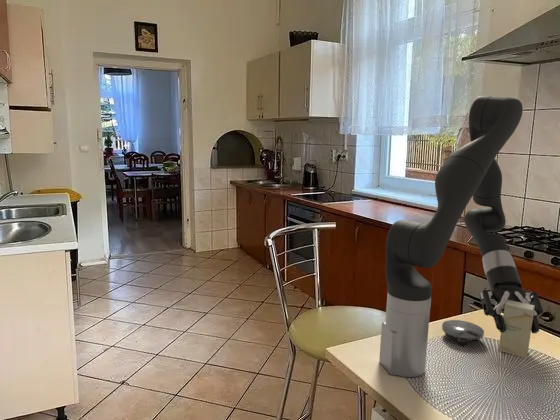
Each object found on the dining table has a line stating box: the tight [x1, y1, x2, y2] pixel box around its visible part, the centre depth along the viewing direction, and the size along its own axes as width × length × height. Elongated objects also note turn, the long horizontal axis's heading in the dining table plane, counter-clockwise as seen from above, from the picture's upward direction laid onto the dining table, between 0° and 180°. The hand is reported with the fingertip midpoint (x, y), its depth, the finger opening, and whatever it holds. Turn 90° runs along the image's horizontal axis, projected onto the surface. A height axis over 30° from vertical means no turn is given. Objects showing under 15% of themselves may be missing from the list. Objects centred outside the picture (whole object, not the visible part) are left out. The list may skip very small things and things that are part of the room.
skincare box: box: [498, 300, 535, 359], centre depth 106 cm, size 6×4×12 cm
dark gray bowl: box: [441, 319, 485, 347], centre depth 113 cm, size 10×10×3 cm
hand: (519, 331), depth 105 cm, fingers closed on skincare box, 7 cm apart
